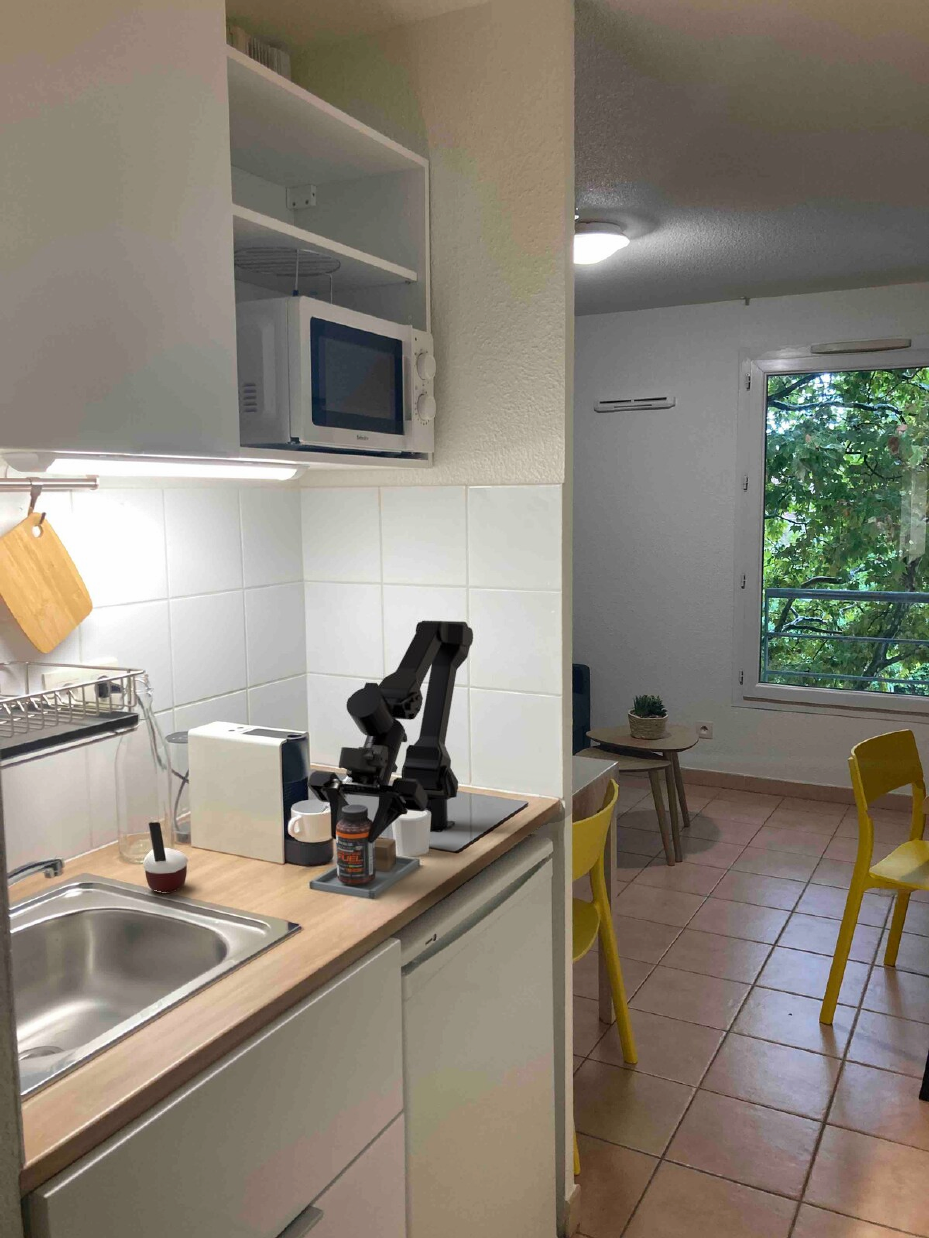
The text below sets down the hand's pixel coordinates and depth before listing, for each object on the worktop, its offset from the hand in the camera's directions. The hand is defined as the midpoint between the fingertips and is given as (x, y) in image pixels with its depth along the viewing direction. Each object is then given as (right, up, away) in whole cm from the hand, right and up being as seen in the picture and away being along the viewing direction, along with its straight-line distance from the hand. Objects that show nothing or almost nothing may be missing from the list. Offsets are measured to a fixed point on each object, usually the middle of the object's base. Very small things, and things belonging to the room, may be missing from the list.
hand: (351, 840), depth 151 cm
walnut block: (+4, -6, +9) cm, 11 cm away
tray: (+2, -7, +5) cm, 9 cm away
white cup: (+8, -6, +16) cm, 19 cm away
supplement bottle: (+1, -7, +2) cm, 7 cm away
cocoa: (-29, -8, +2) cm, 30 cm away
